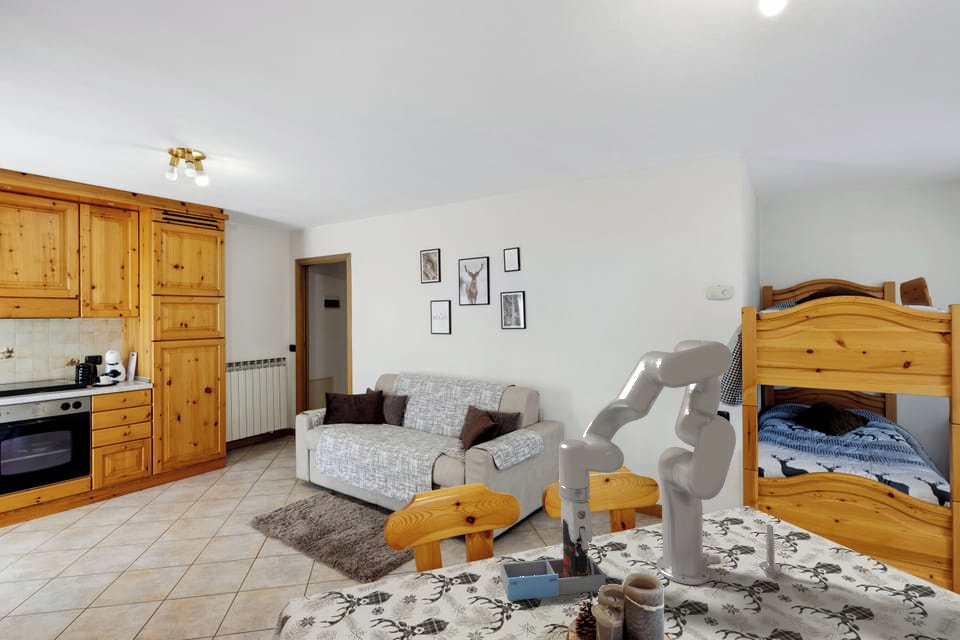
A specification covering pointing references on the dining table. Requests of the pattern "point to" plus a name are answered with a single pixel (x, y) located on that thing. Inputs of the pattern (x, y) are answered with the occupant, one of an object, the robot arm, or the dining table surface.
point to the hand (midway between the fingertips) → (575, 562)
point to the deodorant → (570, 555)
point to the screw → (770, 556)
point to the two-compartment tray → (546, 579)
